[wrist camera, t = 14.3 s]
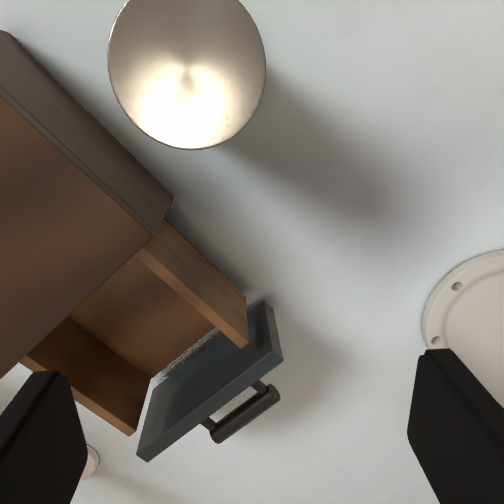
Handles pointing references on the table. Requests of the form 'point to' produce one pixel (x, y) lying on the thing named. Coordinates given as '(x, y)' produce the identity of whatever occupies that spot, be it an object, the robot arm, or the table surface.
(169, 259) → the drawer
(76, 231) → the cabinet
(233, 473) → the table surface
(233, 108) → the tin can
